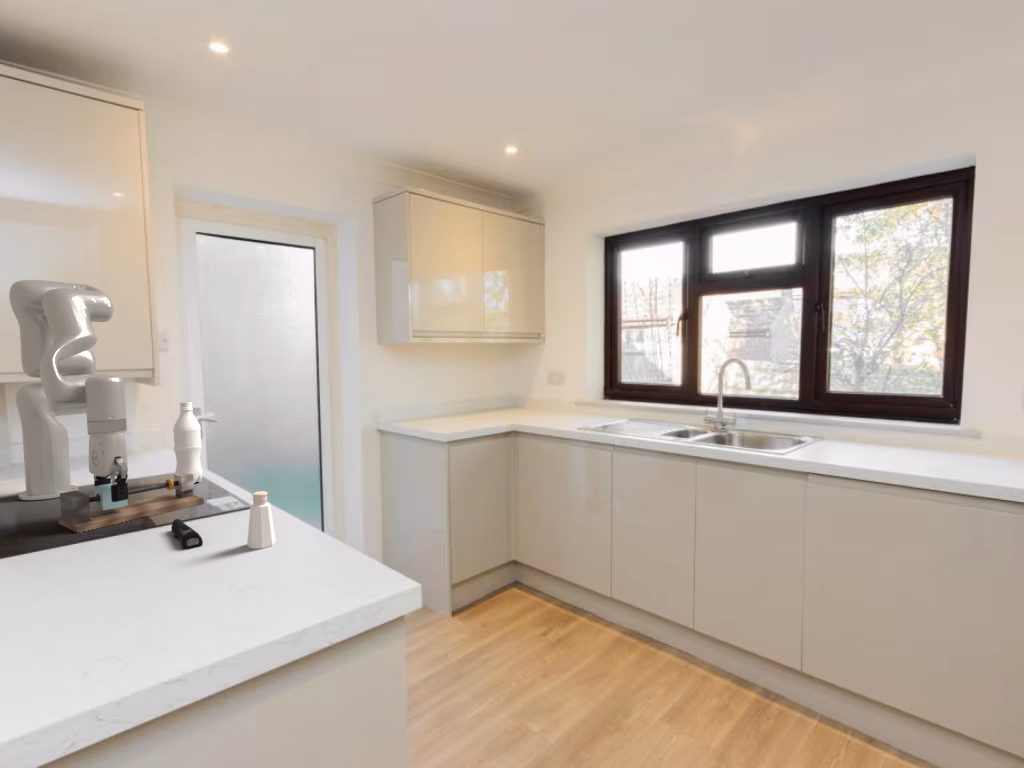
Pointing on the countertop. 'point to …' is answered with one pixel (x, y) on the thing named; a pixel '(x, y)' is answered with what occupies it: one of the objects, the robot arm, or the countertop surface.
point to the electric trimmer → (186, 535)
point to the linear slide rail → (83, 519)
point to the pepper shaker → (260, 523)
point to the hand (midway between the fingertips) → (111, 497)
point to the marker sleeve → (106, 498)
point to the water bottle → (188, 442)
